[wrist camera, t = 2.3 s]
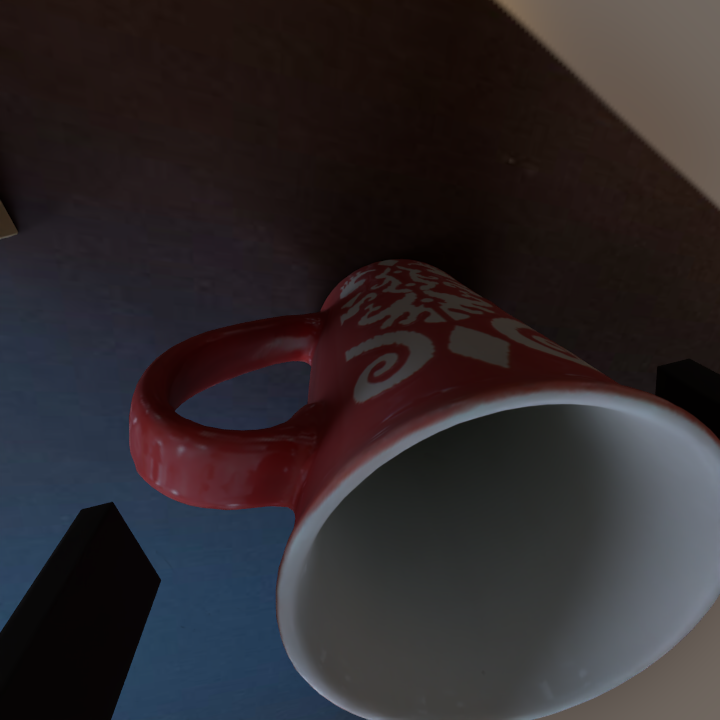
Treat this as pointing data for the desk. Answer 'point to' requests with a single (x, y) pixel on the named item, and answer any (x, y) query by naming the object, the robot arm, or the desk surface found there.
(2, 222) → the stove
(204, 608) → the desk surface
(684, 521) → the mug
